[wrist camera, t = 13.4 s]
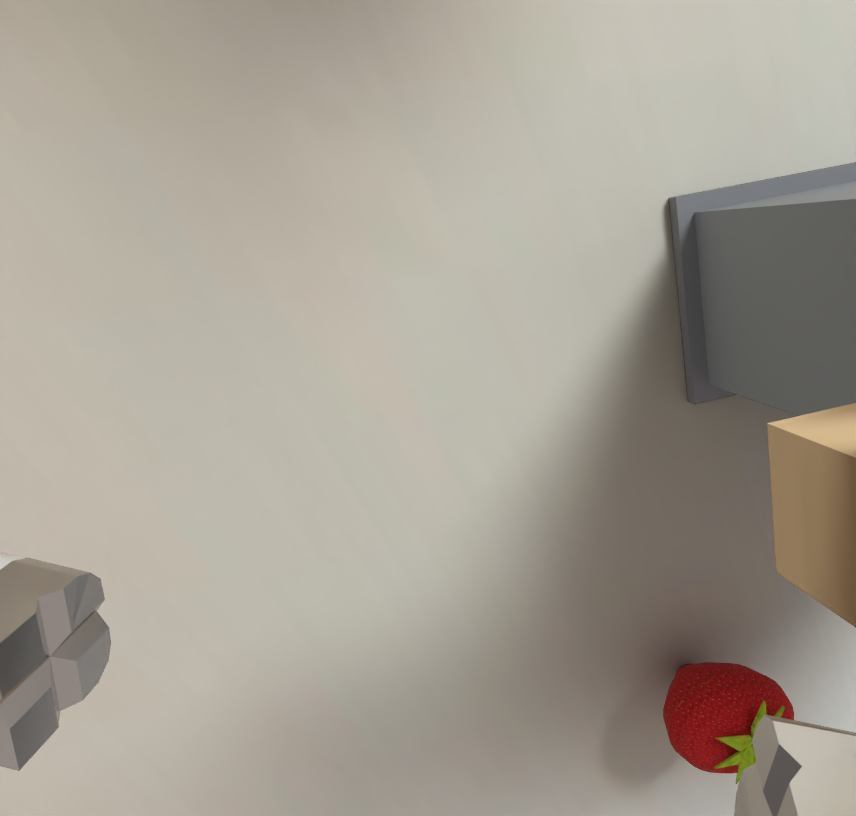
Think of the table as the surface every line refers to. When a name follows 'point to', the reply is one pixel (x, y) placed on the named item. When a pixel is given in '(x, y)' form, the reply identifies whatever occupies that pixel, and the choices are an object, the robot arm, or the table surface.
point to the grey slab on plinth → (770, 290)
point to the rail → (816, 505)
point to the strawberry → (720, 714)
